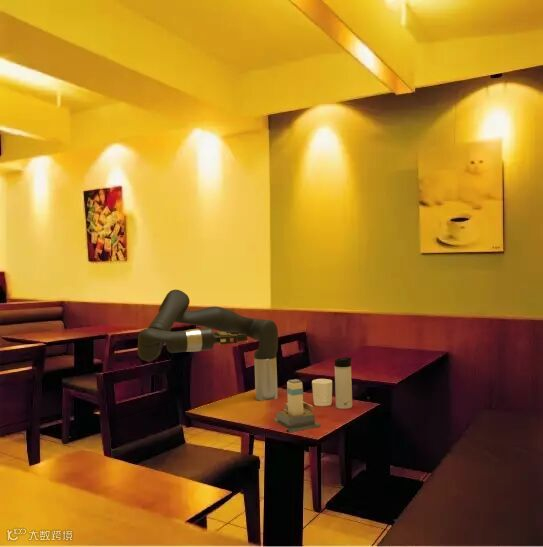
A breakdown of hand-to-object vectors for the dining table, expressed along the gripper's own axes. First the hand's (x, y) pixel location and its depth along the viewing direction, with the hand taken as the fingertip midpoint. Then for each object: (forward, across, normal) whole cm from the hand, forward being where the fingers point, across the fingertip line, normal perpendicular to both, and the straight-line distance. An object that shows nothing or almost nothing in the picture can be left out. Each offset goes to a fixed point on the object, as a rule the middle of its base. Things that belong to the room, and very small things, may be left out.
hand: (242, 335), depth 194 cm
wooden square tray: (+24, +6, +32) cm, 41 cm away
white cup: (+36, +9, +32) cm, 49 cm away
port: (+16, -7, +32) cm, 36 cm away
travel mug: (+41, +1, +32) cm, 52 cm away
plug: (+16, -7, +31) cm, 36 cm away
